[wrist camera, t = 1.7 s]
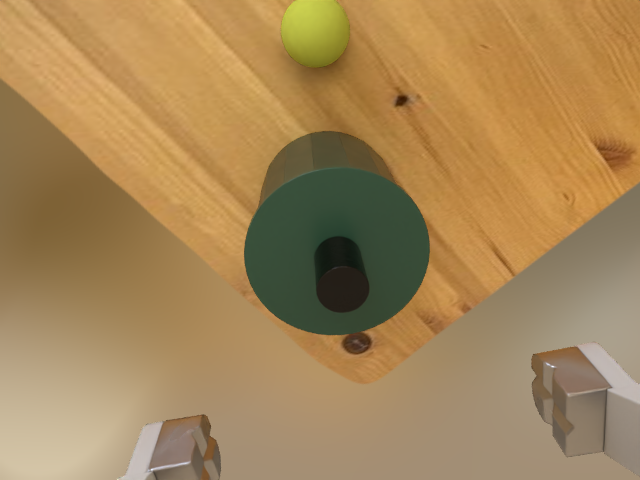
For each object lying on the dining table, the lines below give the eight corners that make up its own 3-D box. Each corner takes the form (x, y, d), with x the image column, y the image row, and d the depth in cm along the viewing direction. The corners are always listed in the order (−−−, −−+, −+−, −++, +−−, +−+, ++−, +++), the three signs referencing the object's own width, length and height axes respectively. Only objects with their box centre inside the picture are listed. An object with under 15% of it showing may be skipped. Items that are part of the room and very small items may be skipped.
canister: (359, 108, 44) (381, 142, 32) (409, 221, 48) (444, 286, 37) (239, 166, 45) (220, 218, 34) (298, 270, 50) (299, 347, 38)
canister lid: (384, 129, 33) (401, 151, 28) (450, 284, 38) (475, 328, 32) (211, 212, 34) (196, 247, 29) (296, 350, 39) (296, 402, 34)
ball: (329, -19, 40) (334, -23, 35) (357, 46, 42) (364, 50, 37) (270, 13, 41) (266, 13, 36) (299, 75, 43) (299, 83, 38)
